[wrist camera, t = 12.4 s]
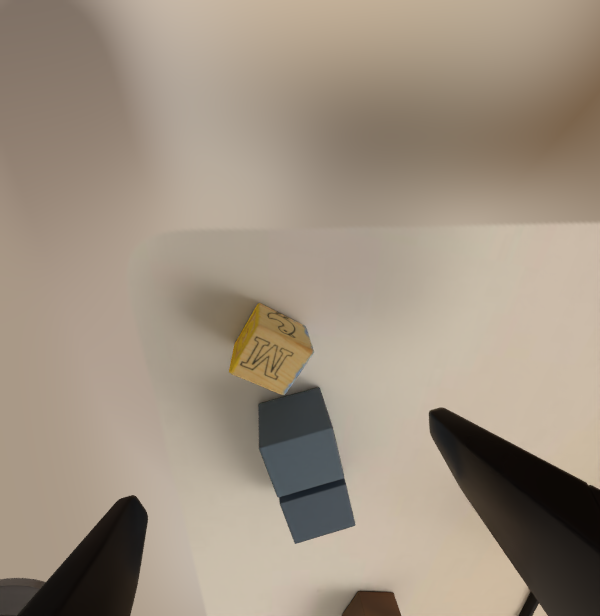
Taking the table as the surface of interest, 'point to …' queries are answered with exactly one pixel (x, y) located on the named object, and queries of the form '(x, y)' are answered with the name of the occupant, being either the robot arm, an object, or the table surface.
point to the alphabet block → (271, 350)
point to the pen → (529, 606)
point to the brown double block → (373, 605)
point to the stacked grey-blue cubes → (304, 464)
